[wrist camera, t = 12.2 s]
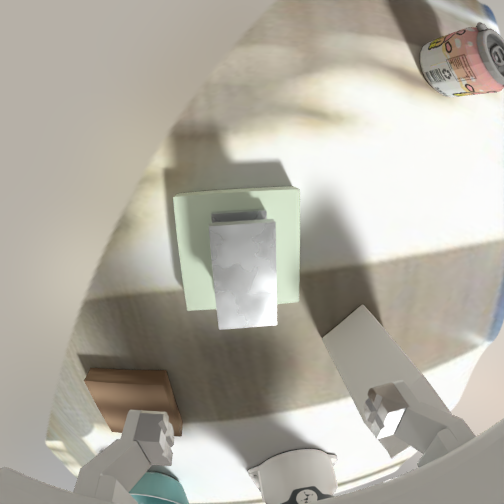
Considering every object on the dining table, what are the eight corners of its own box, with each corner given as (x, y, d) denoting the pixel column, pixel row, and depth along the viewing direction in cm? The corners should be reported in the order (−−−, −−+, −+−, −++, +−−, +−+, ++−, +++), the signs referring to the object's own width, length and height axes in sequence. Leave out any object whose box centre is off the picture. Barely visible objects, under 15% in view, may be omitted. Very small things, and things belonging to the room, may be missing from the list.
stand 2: (292, 290, 34) (298, 301, 31) (190, 297, 33) (187, 310, 30) (292, 186, 30) (299, 189, 27) (177, 193, 29) (172, 197, 26)
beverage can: (442, 36, 24) (499, 17, 13) (469, 87, 27) (529, 81, 16) (405, 50, 25) (467, 25, 14) (436, 107, 28) (504, 101, 17)
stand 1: (182, 422, 40) (181, 436, 37) (115, 418, 39) (111, 431, 36) (166, 370, 36) (163, 384, 33) (90, 367, 35) (84, 380, 32)
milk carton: (320, 337, 37) (378, 452, 19) (362, 302, 36) (444, 402, 18) (346, 362, 39) (402, 463, 21) (384, 331, 38) (456, 422, 20)
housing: (264, 208, 27) (275, 222, 22) (267, 294, 30) (276, 324, 25) (211, 211, 27) (208, 226, 21) (219, 297, 30) (218, 329, 24)
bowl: (143, 491, 49) (140, 516, 41) (111, 462, 44) (105, 491, 36) (201, 491, 49) (201, 518, 42) (176, 463, 44) (174, 496, 37)
